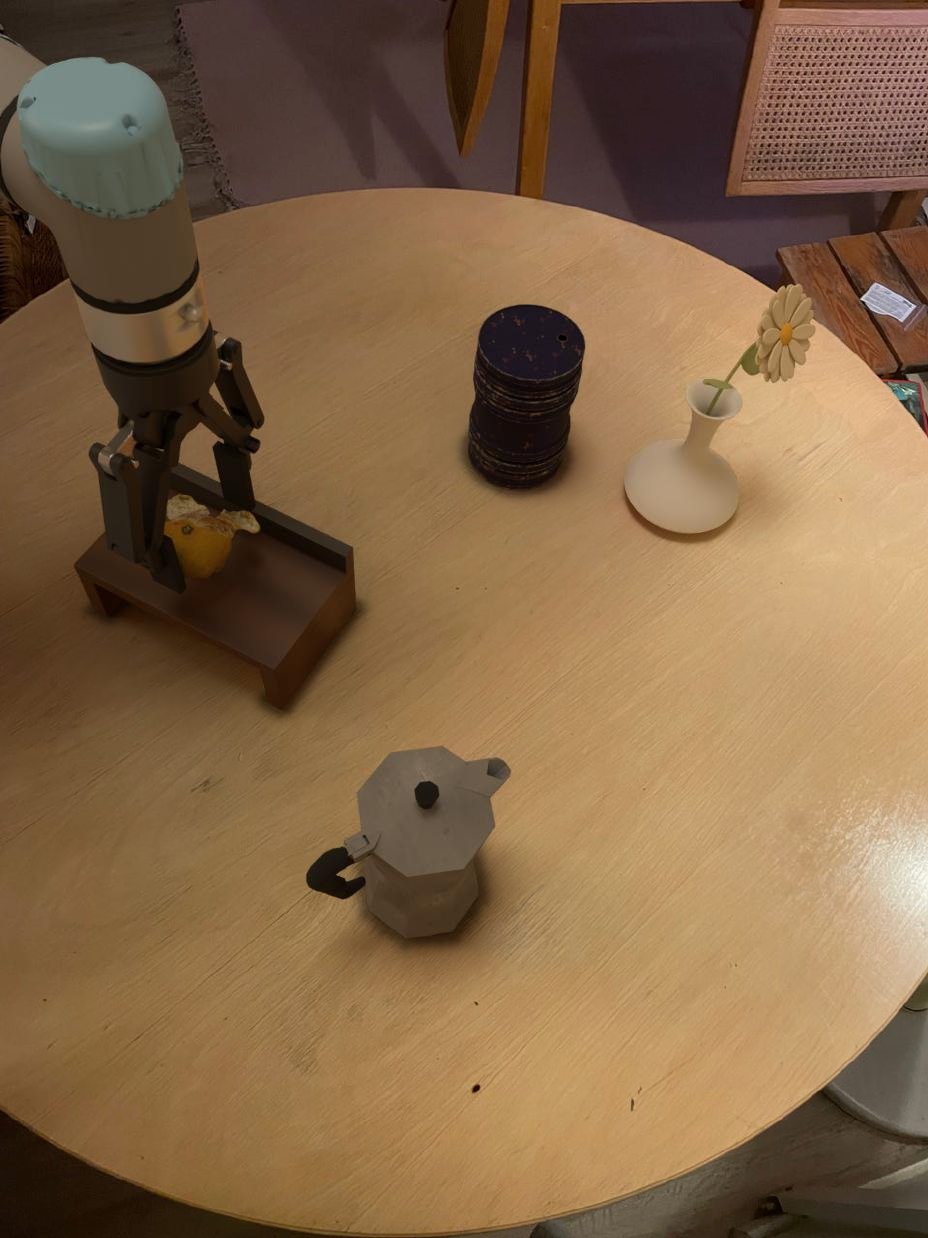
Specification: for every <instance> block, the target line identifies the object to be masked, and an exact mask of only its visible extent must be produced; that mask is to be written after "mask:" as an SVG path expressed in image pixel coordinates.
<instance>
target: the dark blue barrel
mask: <svg viewBox="0 0 928 1238" xmlns="http://www.w3.org/2000/svg"><path fill="white" fill-rule="evenodd" d="M585 352H586V339H585V335H584V334H583V332H582V330H581V328H580V327H579V326H578V324H577V323H576V322H575V321H574V320H573V319H572V318H570V317H569V316H567V314H565V313H562V312H561V311H558V310H557V309H555V308H552V307H549V306H545V305H538V304H533V303H532V304H530V303H521V304H519V303H518V304H513V305H509V306H506V307H502V308H501V309H498V310H496V311H494V312H492V313H491V314H490V315H489V316H488V317H486V319H485V320H484V321H483V322H482V324H481V325H480V328H479V330H478V334H477V347H476V352H475V355H474V362H473V363H474V365H473V373H472V382H473V389H474V393H475V394H474V400H473V403H472V404H471V409H470V410H469V411H470V412H469V416H468V417H469V418H468V429H467V430H468V432H467V433H468V435H467V436H468V445H467V456H468V460H469V463H470V465H471V467H472V469H473V471H475V473H476V474H477V475H478V476H479V477H481V478H482V479H483V480H485V481H486V482H487V483H489V484H490V485H493V486H495V487H497V488H501V489H505V490H511V491H527V490H533V489H536V488H538V487H542V486H544V485H545V484H547V483H548V482H550V481H551V480H552V479H554V477H556V475H558V473H559V471H560V469H561V467H562V464H563V458H564V454H565V451H566V449H567V445H568V441H569V435H570V433H571V429H572V428H571V427H572V426H571V425H572V423H571V422H572V421H571V408H572V406H573V404H574V402H575V400H576V399H577V395H578V393H579V388H580V383H581V377H582V373H583V363H584V362H583V361H584V359H585V354H586V353H585Z"/></svg>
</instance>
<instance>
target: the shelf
mask: <svg viewBox="0 0 928 1238" xmlns="http://www.w3.org/2000/svg"><path fill="white" fill-rule="evenodd" d="M178 494H181V495H188V496H191V497H192V498H193V500H194V501H195V502H196V503H197V504H199V505H204V506H205V507H207V509H208V510H209V513H210V514H208V515H210V516H211V517H213V518H216V517H217V516H219V515H220V514H221V512H222V511H223V510H224V509H225V510H226V511H228V512H232V511H236V512H239V511H243V510H244V511H247V510H245V509H243V508H241V507H239V506H237V505H235V504H233V503H231V502H229V501H227V500H225V499H224V498H223V493H222V489H221V484H220V481H219V480H216V479H214V478H212V477H210V476H207V475H206V474H204V473H202V472H199V471H197V470H195V469H194V468H191V467H189V466H186V465H185V464H183V463H181V462H179V463H178V465H177V466H176V467H174V468H172V470H171V478H170V486H169V494H168V500H170V499H172V498H173V497H174V496H177V495H178ZM255 503H256V507H255V508H254V509H253V510H252V512H250V513H251V514H252V515H253V516H254V517H255V519H256V521H257V522H258V524H259V525H260V531H259V532H258V533H255V534H252V533H251V532H249V531H248V530H246V529H238V530H237V531H236V532H235V534H234V536H233V537H232V539H231V546H232V548H231V552H230V553H229V556H228V557H227V560H226V561H225V564H224V567H223V568H222V569H221V570H220V571H219V572H214V573H212V574H211V576H210V577H208V578H203V579H202V578H193V579H190V578H184V580H185V583H186V586H187V588H186V589H185V591H184V592H183V593H182V594H179V593H177V592H175V591H173V590H171V589H169V588H167V587H165V586H163V585H161V584H160V583H158V582H156V581H154V580H153V579H152V576H151V573H150V571H149V570H147V569H145V568H143V567H142V566H140V563H139V564H135V563H133V562H131V561H129V560H127V559H125V558H123V557H121V556H120V555H118V554H116V553H114V552H112V551H110V550H108V548H107V542H106V534H105V530H104V531H103V532H102V533H101V534H100V535H99V536H98V538H96V539H95V540H94V542H93V543H92V544H91V545H90V546H89V547H88V548H87V549H86V550H85V551H84V553H82V554H81V556H80V557H79V558H78V559H77V560H76V561H75V562H74V563H73V567H74V569H75V572H76V574H77V575H78V578H79V580H80V583H81V584H82V587H83V589H84V591H85V593H86V596H87V598H88V600H89V602H90V604H91V607H92V609H93V610H94V611H95V612H97V613H99V614H101V615H103V616H105V617H107V618H108V617H109V616H110V615H111V614H112V613H113V612H114V611H115V610H116V608H117V607H118V606H119V605H120V604H121V603H122V602H123V600H125V601H127V602H129V603H131V604H133V605H135V606H136V607H139V608H141V609H142V610H144V611H147V612H148V613H150V614H152V615H154V616H156V617H157V618H159V619H161V620H164V621H165V622H166V623H169V624H171V625H173V626H175V627H177V628H179V629H181V631H184V632H185V633H186V632H187V633H188V634H190V635H192V636H193V637H196V638H198V639H199V640H201V641H203V642H205V643H208V644H209V645H210V646H212V647H215V648H217V649H218V650H221V651H222V652H224V653H226V654H228V655H229V656H232V657H233V658H235V659H238V660H240V661H241V662H243V663H245V664H247V665H249V666H250V667H252V668H255V669H257V670H259V672H260V673H259V674H260V676H261V677H260V678H261V680H262V686H263V690H264V695H265V700H266V702H267V703H268V704H270V705H272V706H273V707H275V708H277V709H279V710H281V711H283V710H284V709H285V708H286V706H287V704H288V703H289V702H290V700H291V699H292V698H293V696H294V695H295V694H296V692H297V691H298V689H299V688H300V686H301V685H302V684H303V682H305V680H306V679H307V677H308V676H309V674H310V673H311V672H312V670H313V669H314V667H315V666H316V664H317V663H318V662H319V660H321V658H322V656H323V655H324V653H326V651H327V650H328V648H329V647H330V646H331V644H332V642H333V641H334V640H335V638H336V637H337V636H338V634H339V633H340V632H341V630H342V629H343V628H344V626H345V625H346V624H347V622H348V620H349V619H350V618H351V617H352V615H353V614H354V613H355V611H356V610H357V595H356V575H355V559H354V558H355V557H354V556H355V554H354V546H352V545H349V544H348V543H346V542H344V541H342V540H340V539H337V538H335V537H333V536H331V535H329V534H328V533H325V532H324V531H321V530H319V529H317V528H315V527H313V526H311V525H308V524H307V523H304V522H302V521H301V520H298V519H296V518H294V517H292V516H290V515H288V514H286V513H284V512H282V511H279V510H278V509H276V508H273V507H272V506H270V505H267V504H266V503H263V502H261V501H259V500H257V499H255ZM247 512H249V511H247ZM169 521H171V520H170V519H168V518H167V515H166V519H165V522H169Z"/></svg>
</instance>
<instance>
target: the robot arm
mask: <svg viewBox="0 0 928 1238" xmlns="http://www.w3.org/2000/svg"><path fill="white" fill-rule="evenodd" d="M175 134H176V133H175V132H174V129H173V125H172V121H171V118H170V113H169V109H168V105H167V100H166V98H165V96H164V93H163V92H162V90H161V88H160V87H159V86H158V85H157V83H156V82H155V81H154V80H153V79H152V78H151V76H149V75H148V74H147V73H145V72H144V71H143V70H141V69H140V68H138V67H136V66H134V65H132V64H129V63H127V62H123V61H122V62H121V61H120V62H115V63H109V62H108V61H107V60H106V59H105V58H103V57H98V56H97V57H96V56H88V57H85V56H84V57H75V58H70V59H69V58H68V59H66V60H62V61H59V62H55V63H52V64H50V65H47V64H45V63H44V62H42V61H40V59H38V58H37V57H36V56H34V55H32V53H30V52H29V51H28V50H27V49H26V48H24V46H22V45H21V44H19V43H18V42H17V41H15V40H13V39H11V38H10V37H8V36H7V35H5V34H2V33H0V200H2V199H4V200H5V201H7V202H9V203H10V204H12V205H14V207H16V208H18V209H20V210H21V211H23V212H24V213H26V214H27V215H29V216H31V217H33V218H34V219H36V220H38V221H39V222H40V223H41V224H43V225H45V226H46V227H47V228H48V229H49V230H50V231H51V233H52V235H53V236H54V238H55V241H56V244H57V246H58V247H57V248H58V250H59V251H60V255H61V257H62V260H63V263H64V266H65V270H66V271H67V274H68V275H67V276H68V279H69V282H70V285H71V288H72V292H73V294H74V298H75V301H76V304H77V307H78V311H79V314H80V318H81V320H82V323H83V327H84V331H85V333H86V336H87V338H88V339H89V341H90V344H91V345H90V347H91V350H92V352H93V357H94V359H95V362H96V365H97V368H98V371H99V374H100V378H101V380H102V383H103V385H104V387H105V389H106V390H107V392H108V394H109V395H110V396H111V398H112V400H113V401H114V402H115V405H116V406H117V411H118V413H117V420H116V421H117V424H116V425H117V429H118V431H117V433H116V434H115V435H114V436H113V437H112V439H110V441H109V442H108V444H107V445H105V444H104V443H101V442H98V441H97V442H94V443H93V444H92V445H91V446H90V448H89V450H88V458H89V460H90V461H91V463H92V465H93V466H94V468H95V471H96V472H97V478H98V483H99V484H98V486H99V493H100V503H101V510H102V518H103V525H104V526H103V527H104V531H105V534H106V542H107V548H108V550H110V551H112V552H114V553H116V554H118V555H120V556H121V557H123V558H125V559H127V560H129V561H131V562H133V563H135V564H139V563H140V566H142V567H143V568H145V569H147V570H149V571H150V573H151V576H152V579H153V580H154V581H156V582H158V583H160V584H161V585H163V586H165V587H167V588H169V589H171V590H173V591H175V592H177V593H179V594H182V593H183V592H184V591H185V589H186V588H187V586H186V583H185V580H184V576H183V573H182V570H181V567H180V563H179V560H178V557H177V553H176V550H175V547H174V543H173V540H172V538H170V537H168V536H166V535H164V527H165V519H166V511H167V503H168V494H169V486H170V478H171V470H172V468H174V467H176V466H177V465H178V463H180V455H181V446H182V442H183V441H184V439H185V438H186V436H187V435H188V434H189V433H190V432H191V431H193V430H195V428H197V427H198V425H199V424H202V425H203V427H206V428H207V429H208V430H209V431H210V432H211V433H213V434H214V435H215V436H216V437H217V438H218V439H221V440H222V441H223V442H222V441H220V440H216V442H215V443H214V444H213V445H212V447H211V448H212V453H213V457H214V461H215V465H216V471H217V474H218V479H219V480H218V481H219V482H220V484H221V489H222V493H223V498H224V499H225V500H227V501H229V502H231V503H233V504H235V505H237V506H239V507H241V508H243V509H245V510H247V511H249V512H252V510H253V509H254V508H255V507H256V503H255V500H256V498H255V492H254V487H253V481H252V475H251V470H252V465H253V461H252V456H251V454H252V455H255V454H257V452H258V451H259V450H260V448H261V443H262V442H261V440H260V439H258V438H257V437H255V436H253V435H252V433H253V431H254V429H255V430H260V429H261V428H262V427H263V425H264V424H265V419H266V418H265V414H264V412H263V410H262V408H261V404H260V402H259V401H258V398H257V395H256V393H255V390H254V388H253V386H252V383H251V381H250V379H249V376H248V373H247V371H246V369H245V367H244V364H243V363H244V362H243V347H242V342H241V341H240V340H238V339H235V338H233V337H231V336H229V335H226V334H224V333H222V332H219V331H218V330H216V329H213V325H212V324H213V323H212V321H211V319H210V313H209V307H208V302H207V297H206V291H205V286H204V282H203V276H202V272H201V271H202V270H201V266H200V261H199V256H198V255H199V254H198V253H199V252H198V248H197V242H196V235H195V231H194V226H193V217H192V213H191V208H190V207H191V206H190V201H189V196H188V190H187V184H186V179H185V174H184V158H183V157H184V156H183V153H182V152H181V147H180V143H179V142H177V140H176V135H175ZM214 384H215V387H216V389H217V391H218V393H219V396H220V397H221V399H222V402H223V404H224V406H225V408H226V410H227V412H226V411H225V408H224V407H223V406H222V405H221V404H220V402H218V401H217V400H216V399H215V398H214V396H213V395H212V394H211V393H210V389H211V388H212V387H213V385H214Z"/></svg>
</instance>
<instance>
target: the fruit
mask: <svg viewBox="0 0 928 1238" xmlns="http://www.w3.org/2000/svg"><path fill="white" fill-rule="evenodd" d="M208 514H210V513H209V510H208V509H207V507H205V506H204V505H199V504H197V503H196V502H195V501H194V500H193V498H192V497H191V496H188V495H181V494H178V495H177V496H174V497H173V498H172V499H170V500H168V503H167V511H166V515H167V518H168V519H170V520H171V521H169V522H165V527H164V535H166V536H168V537H170V538H172V540H173V543H174V547H175V550H176V553H177V557H178V560H179V563H180V567H181V570H182V573H183V576H184V578H190V579H193V578H202V579H203V578H208V577H210V576H211V574H212V573H214V572H219V571H220V570H221V569H222V568H223V567H224V564H225V561H226V560H227V557H228V556H229V553H230V552H231V548H232V546H231V539H232V537H233V536H234V534H235V532H236V531H237V530H238V529H246V530H248V531H249V532H251V533H252V534H255V533H258V532H259V531H260V525H259V524H258V522H257V521H256V519H255V517H254V516H253V515H252V514H251V513H250V512H247V511H244V510H243V511H239V512H236V511H232V512H228V511H226V510H225V509H224V510H223V511H222V512H221V514H220V515H219V516H217V517H216V518H213V517H211V516H210V515H208Z"/></svg>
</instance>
